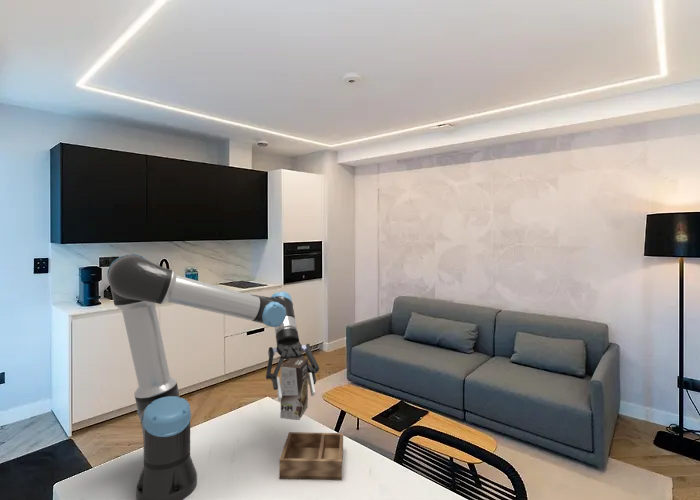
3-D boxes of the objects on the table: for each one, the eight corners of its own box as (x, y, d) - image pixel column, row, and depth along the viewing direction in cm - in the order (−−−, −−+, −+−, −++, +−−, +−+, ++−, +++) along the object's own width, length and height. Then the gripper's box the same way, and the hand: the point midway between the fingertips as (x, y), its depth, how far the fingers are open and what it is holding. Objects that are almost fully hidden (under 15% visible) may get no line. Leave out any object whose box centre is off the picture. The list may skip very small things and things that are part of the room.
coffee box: (300, 420, 115) (300, 367, 114) (279, 418, 116) (280, 366, 115) (308, 407, 124) (308, 358, 123) (289, 405, 125) (289, 356, 124)
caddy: (279, 478, 110) (279, 460, 110) (288, 448, 126) (288, 432, 126) (341, 480, 110) (341, 461, 110) (343, 449, 126) (343, 433, 126)
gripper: (315, 335, 138) (328, 396, 123) (252, 341, 129) (258, 407, 115) (320, 324, 132) (334, 386, 118) (254, 329, 124) (261, 396, 110)
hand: (297, 396), depth 117 cm, fingers closed on coffee box, 10 cm apart
